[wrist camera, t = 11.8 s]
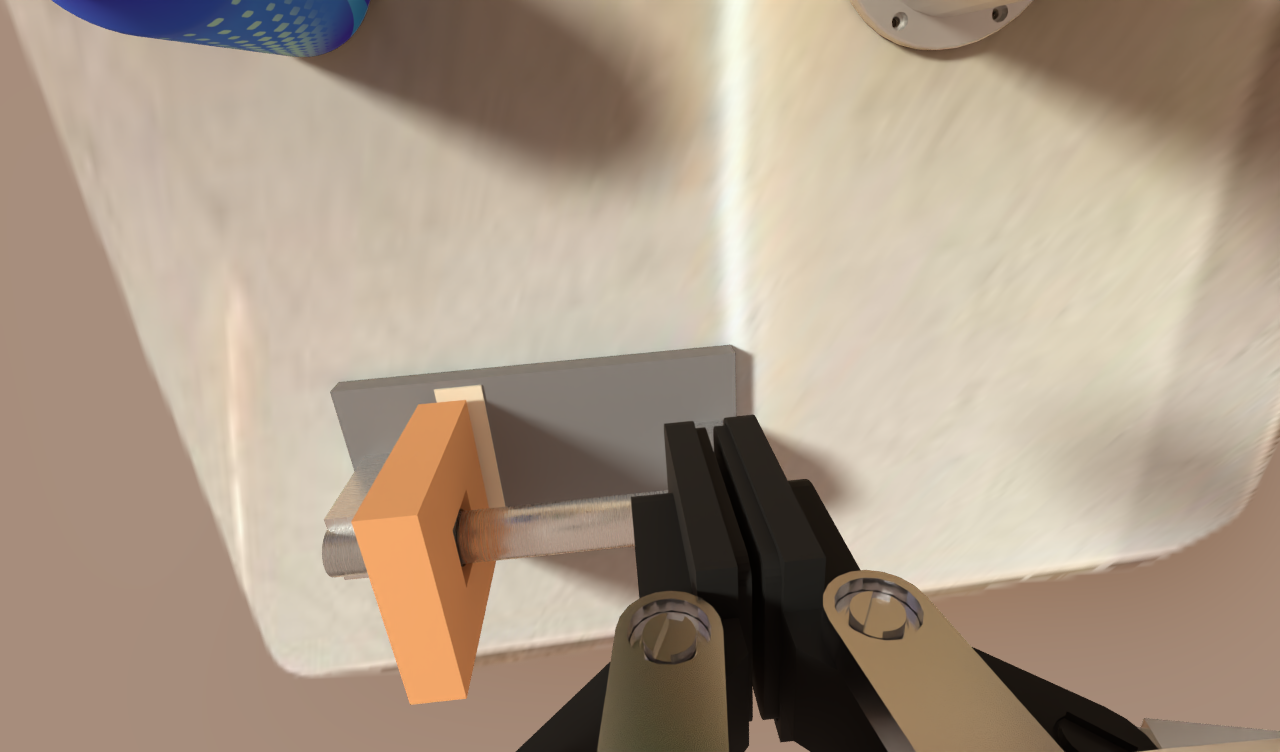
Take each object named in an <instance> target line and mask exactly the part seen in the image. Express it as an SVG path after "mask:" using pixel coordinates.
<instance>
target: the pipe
mask: <svg viewBox="0 0 1280 752" xmlns="http://www.w3.org/2000/svg"><path fill="white" fill-rule="evenodd" d="M694 424H695V428H703V427H705V428H706V430H707V433H708V436H709V439H710V442H711V445H712V448H713V451H714V442H713V428H714V426H723V422H722V420H717V421H707V422H697V423H694ZM389 455H390V453H383V454H372V455H365V456H364V458H363V459H362V461H361V463H360V464H359V466H358V467H357V469H356V470H355V472H354V473H353V475H352V477H351V478H350V480H349V481H348V483H347V484H346V486H345V488H344V489H343V491H342V492H341V494H340V495H339V497H338V498H337V500H336V502H335V503H334V505H333V506H332V508H331V509H330V511H329V512H328V514H327V516H326V517H325V519H324V521H325V524H326V527H327V531H326V533H325V536H324V540H323V546H322V559H323V565H324V568H325V570H326V572H327V574H328V575H329V576H330V577H343V576H344V579H345V580H348V579H358V578H368V577H369V575H368V572H367V569H366V566H365V563H364V560H363V557H362V554H361V551H360V548H359V545H358V541H357V538H356V535H355V532H354V529H353V526H352V523H351V521H352V519H353V518H354V516H355V514H356V512H357V511H358V509H359V507H360V505H361V504H362V502H363V500H364V498H365V497H366V495H367V493H368V491H369V490H370V488H371V486H372V484H373V483H374V481H375V479H376V477H377V476H378V474H379V472H380V471H381V469H382V467H383V465H384V464H385V462H386V460H387V458H388V457H389ZM664 493H668V490H665V491H655V492H645V493H635V494H625V495H615V496H606V497H596V498H586V499H576V500H566V501H556V502H547V503H537V504H527V505H517V506H507V507H497V508H487V509H478V510H468V511H464V510H463V509H459V512H458V515H457V519H456V522H455V525H454V528H453V535H454V539H455V543H456V547H457V551H458V555H459V559H460V563H461V567H464V566H465V565H466V564H467V563H477V562H487V561H496V560H506V559H516V558H525V557H535V556H544V555H554V554H564V553H573V552H583V551H592V550H602V549H612V548H621V547H631V546H635V541H634V530H633V518H632V507H631V497H634V496H644V495H654V494H664Z"/></svg>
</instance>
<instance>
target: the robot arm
mask: <svg viewBox="0 0 1280 752" xmlns="http://www.w3.org/2000/svg"><path fill="white" fill-rule="evenodd" d="M1033 1H1034V0H850V2H851V4H852V5H853V6H854V8H855V9H856V10H857V12H858V13H859V15H860V16H861V17H862V19H863V20H864V21H865V22H866V23H867V24H868V25H869V26H870V27H872V28H873V29H874V30H875V31H876V32H877V33H878V34H880V35H881V36H883V37H885V38H887V39H889V40H890V41H892V42H894V43H896V44H898V45H902V46H905V47H909V48H913V49H917V50H943V49H950V48H957V47H961V46H964V45H968V44H971V43H974V42H978V41H980V40H982V39H984V38H986V37H988V36H989V35H991V34H993V33H995V32H997V31H999V30H1000V29H1002V28H1003V27H1004V26H1006V25H1007V24H1009V23H1010V22H1011V21H1013V20H1014V19H1015V18H1017V17H1018V16H1019V15H1020V14H1021V13H1022V12H1023V11H1024V10H1025V9H1026V8H1027V7H1028V6H1029V5H1030V4H1031V3H1032V2H1033ZM993 11H994V17H993V19H992V12H993ZM893 18H895V19H896V21H897V24H896V26H895V27H894V28H893V27H892V19H893ZM664 440H665V454H666V468H667V483H668V493H664V494H654V495H644V496H634V497H631V507H632V518H633V530H634V541H635V552H636V564H637V575H638V586H639V598H640V599H638V600H637V601H635V602H634V603H632V604H631V605H629V606H628V607H627V609H626V610H625V611H624V612H623V614H622V615H621V616H620V618H619V621H618V624H617V627H616V630H615V636H614V643H613V650H612V656H611V662H609V664H607V665H606V666H605V667H604V668H603V669H602V670H601V671H600V672H599V673H598V674H597V675H596V676H595V677H594V678H593V679H592V680H591V681H590V682H588V683H587V685H585V686H584V687H583V688H582V689H581V690H580V691H579V692H578V693H577V694H576V695H575V696H574V697H573V698H572V699H571V700H570V701H568V703H567V704H565V705H564V706H563V707H562V708H561V709H560V710H559V711H558V712H557V713H556V714H555V715H554V716H553V717H552V718H551V719H550V720H549V721H547V723H545V724H544V725H543V726H542V727H541V728H540V729H539V730H538V731H537V732H536V733H535V734H534V735H533V736H532V737H531V738H530V739H529V740H528V741H527V742H525V743H524V744H523V745H522V746H521V747H520V748H519V749H518V750H517V751H516V752H744V751H745V750H746V749H747V747H748V746H749V721H752V717H753V713H752V712H753V709H752V708H753V706H752V705H753V701H752V700H753V699H752V698H753V697H752V686H753V690H754V693H755V697H756V701H757V705H758V708H759V712H760V715H761V718H762V719H763V720H766V719H774V721H775V725H776V728H777V732H778V735H779V738H780V742H787V741H795V742H796V743H798V744H799V745H801V746H803V747H804V748H806V749H807V750H809V751H810V752H1280V731H1273V730H1262V729H1252V728H1242V727H1232V726H1231V727H1230V726H1221V725H1211V724H1201V723H1189V722H1180V721H1168V720H1159V719H1149V718H1144V719H1143V722H1142V725H1141V727H1136V726H1135V725H1133V724H1132V723H1131V722H1129V721H1128V720H1127V719H1125V718H1124V717H1122V716H1120V715H1118V714H1117V713H1115V712H1113V711H1111V710H1109V709H1108V708H1106V707H1104V706H1102V705H1099V704H1097V703H1095V702H1093V701H1091V700H1088V699H1086V698H1084V697H1082V696H1080V695H1077V694H1075V693H1073V692H1070V691H1068V690H1066V689H1064V688H1062V687H1060V686H1057V685H1055V684H1053V683H1051V682H1049V681H1046V680H1044V679H1042V678H1040V677H1037V676H1035V675H1033V674H1031V673H1029V672H1026V671H1024V670H1022V669H1019V668H1017V667H1015V666H1013V665H1011V664H1008V663H1006V662H1004V661H1002V660H1000V659H998V658H995V657H993V656H991V655H989V654H987V653H984V652H982V651H980V650H978V649H975V648H973V647H971V646H970V645H969V644H968V643H967V641H966V640H965V639H964V638H963V637H962V636H961V635H960V633H958V631H957V630H956V629H955V628H954V627H953V626H952V625H951V623H950V622H949V621H948V620H947V619H946V618H945V617H944V615H943V614H942V613H941V612H940V611H939V610H938V609H937V608H936V606H935V605H934V604H933V603H932V602H931V601H930V600H929V598H928V597H927V596H926V595H925V594H924V593H922V592H921V591H920V590H919V589H918V588H917V587H915V586H914V585H913V584H911V583H909V582H907V581H905V580H904V579H902V578H900V577H897V576H894V575H891V574H888V573H885V572H879V571H870V570H860V568H859V567H858V565H857V563H856V561H855V560H854V558H853V556H852V554H851V552H850V551H849V549H848V547H847V545H846V543H845V542H844V540H843V538H842V536H841V535H840V533H839V531H838V529H837V527H836V526H835V524H834V522H833V520H832V518H831V517H830V515H829V513H828V511H827V510H826V508H825V506H824V504H823V502H822V501H821V499H820V497H819V495H818V493H817V492H816V490H815V488H814V486H813V485H812V483H811V482H810V481H809V480H807V479H801V480H791V481H787V479H786V477H785V475H784V473H783V471H782V469H781V467H780V465H779V463H778V461H777V459H776V457H775V455H774V453H773V451H772V449H771V447H770V445H769V443H768V441H767V439H766V437H765V435H764V433H763V431H762V429H761V427H760V425H759V423H758V421H757V419H756V417H755V415H746V416H736V417H726V418H724V420H723V426H714V428H713V442H714V451H713V448H712V445H711V442H710V439H709V436H708V433H707V430H706V428H705V427H703V428H695V424H694V422H693V421H685V422H675V423H665V424H664Z"/></svg>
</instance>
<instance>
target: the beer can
mask: <svg viewBox="0 0 1280 752" xmlns="http://www.w3.org/2000/svg"><path fill="white" fill-rule="evenodd" d="M52 1H53V2H55V3H56V4H58V5H59V6H61V7H62V8H64V9H65V10H67V11H69V12H70V13H72V14H74V15H76V16H77V17H79V18H81V19H83V20H86V21H88V22H90V23H92V24H95V25H97V26H100V27H103V28H105V29H109V30H112V31H116V32H119V33H123V34H128V35H134V36H140V37H148V38H156V39H163V40H171V41H178V42H186V43H194V44H201V45H209V46H216V47H224V48H232V49H239V50H247V51H255V52H262V53H270V54H277V55H285V56H293V57H311V56H317V55H321V54H325V53H327V52H330V51H332V50H334V49H336V48H338V47H339V46H341V45H342V44H344V43H345V42H346V41H347V40H348V39H350V38H351V37H352V35H353V34H354V33H355V32H356V31H357V29H358V28H359V26H360V25H361V23H362V21H363V19H364V17H365V15H366V13H367V10H368V7H369V3H370V0H52Z"/></svg>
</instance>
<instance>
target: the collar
mask: <svg viewBox="0 0 1280 752" xmlns="http://www.w3.org/2000/svg"><path fill="white" fill-rule="evenodd" d="M487 508H489V506H488V501H487V496H486V491H485V487H484V482H483V477H482V472H481V468H480V463H479V458H478V454H477V449H476V444H475V439H474V435H473V430H472V425H471V420H470V416H469V411H468V406H467V402H466V400H459V401H449V402H439V403H428V404H418V406H417V408H416V410H415V411H414V413H413V415H412V417H411V418H410V420H409V422H408V423H407V425H406V427H405V429H404V430H403V432H402V434H401V436H400V437H399V439H398V441H397V443H396V444H395V446H394V448H393V450H392V451H391V453H390V455H389V457H388V458H387V460H386V462H385V464H384V465H383V467H382V469H381V471H380V472H379V474H378V476H377V477H376V479H375V481H374V483H373V484H372V486H371V488H370V490H369V491H368V493H367V495H366V497H365V498H364V500H363V502H362V504H361V505H360V507H359V509H358V511H357V512H356V514H355V516H354V518H353V519H352V521H351V523H352V526H353V529H354V532H355V535H356V538H357V541H358V545H359V548H360V551H361V554H362V557H363V560H364V563H365V566H366V569H367V572H368V575H369V579H370V582H371V585H372V588H373V591H374V594H375V597H376V600H377V603H378V606H379V609H380V612H381V616H382V619H383V622H384V625H385V628H386V631H387V634H388V637H389V640H390V643H391V646H392V650H393V653H394V656H395V659H396V662H397V665H398V668H399V671H400V674H401V677H402V680H403V683H404V687H405V690H406V693H407V696H408V699H409V702H410V705H411V704H421V703H429V702H438V701H448V700H456V699H466V698H467V694H468V689H469V684H470V680H471V676H472V671H473V666H474V662H475V657H476V652H477V647H478V643H479V638H480V633H481V629H482V624H483V619H484V615H485V610H486V605H487V601H488V596H489V591H490V587H491V582H492V577H493V573H494V568H495V563H496V561H487V562H477V563H467V564H466V565H465V566H464V567H461V563H460V559H459V555H458V551H457V547H456V543H455V539H454V535H453V528H454V525H455V522H456V519H457V515H458V512H459V509H463V510H464V511H468V510H478V509H487Z"/></svg>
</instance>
